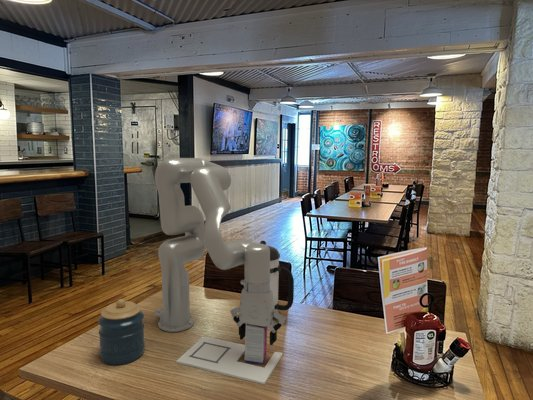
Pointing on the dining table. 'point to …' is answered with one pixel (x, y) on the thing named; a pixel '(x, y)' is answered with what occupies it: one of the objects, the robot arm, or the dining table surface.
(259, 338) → the supplement box
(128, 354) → the canister
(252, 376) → the board
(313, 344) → the dining table surface
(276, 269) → the coffee press
